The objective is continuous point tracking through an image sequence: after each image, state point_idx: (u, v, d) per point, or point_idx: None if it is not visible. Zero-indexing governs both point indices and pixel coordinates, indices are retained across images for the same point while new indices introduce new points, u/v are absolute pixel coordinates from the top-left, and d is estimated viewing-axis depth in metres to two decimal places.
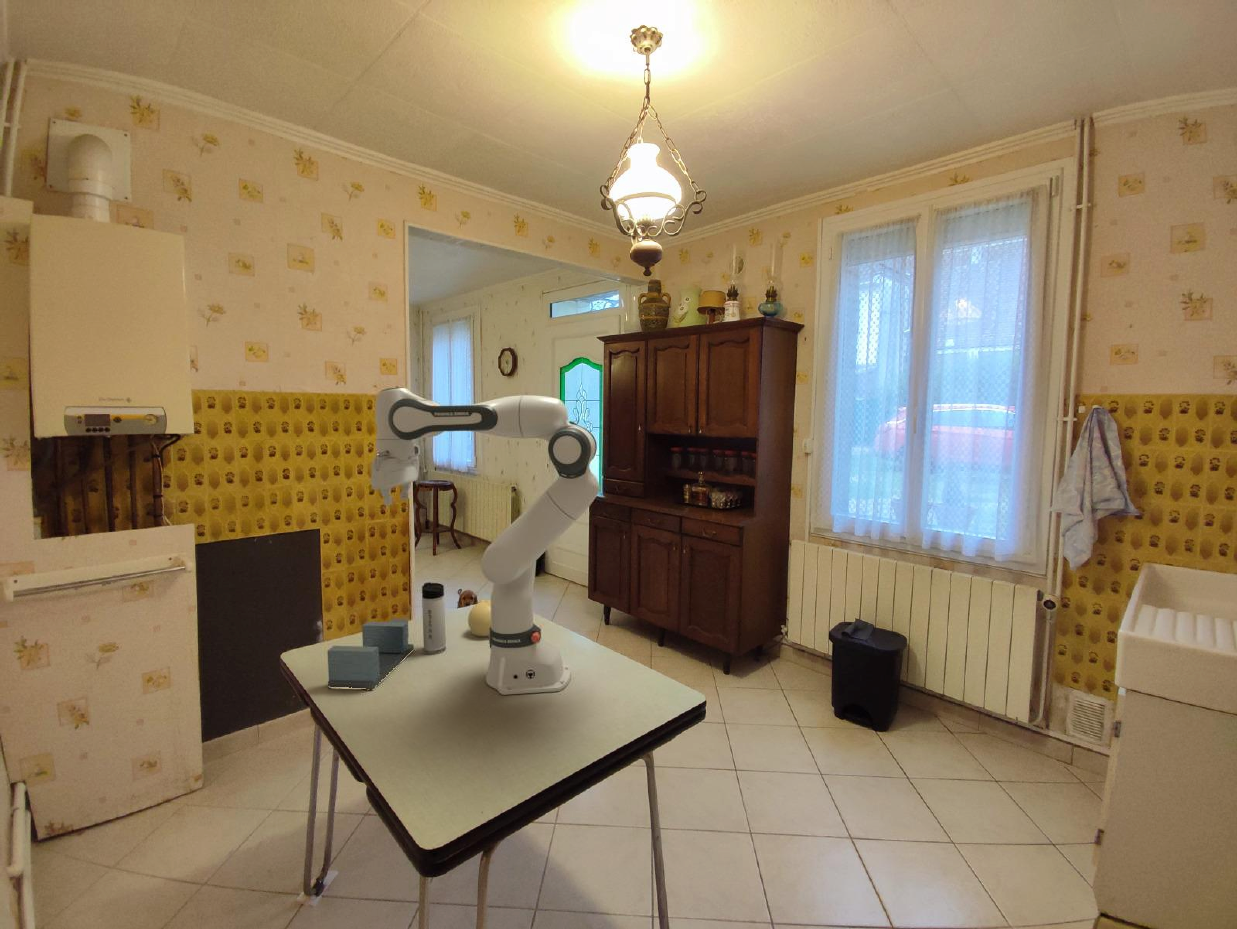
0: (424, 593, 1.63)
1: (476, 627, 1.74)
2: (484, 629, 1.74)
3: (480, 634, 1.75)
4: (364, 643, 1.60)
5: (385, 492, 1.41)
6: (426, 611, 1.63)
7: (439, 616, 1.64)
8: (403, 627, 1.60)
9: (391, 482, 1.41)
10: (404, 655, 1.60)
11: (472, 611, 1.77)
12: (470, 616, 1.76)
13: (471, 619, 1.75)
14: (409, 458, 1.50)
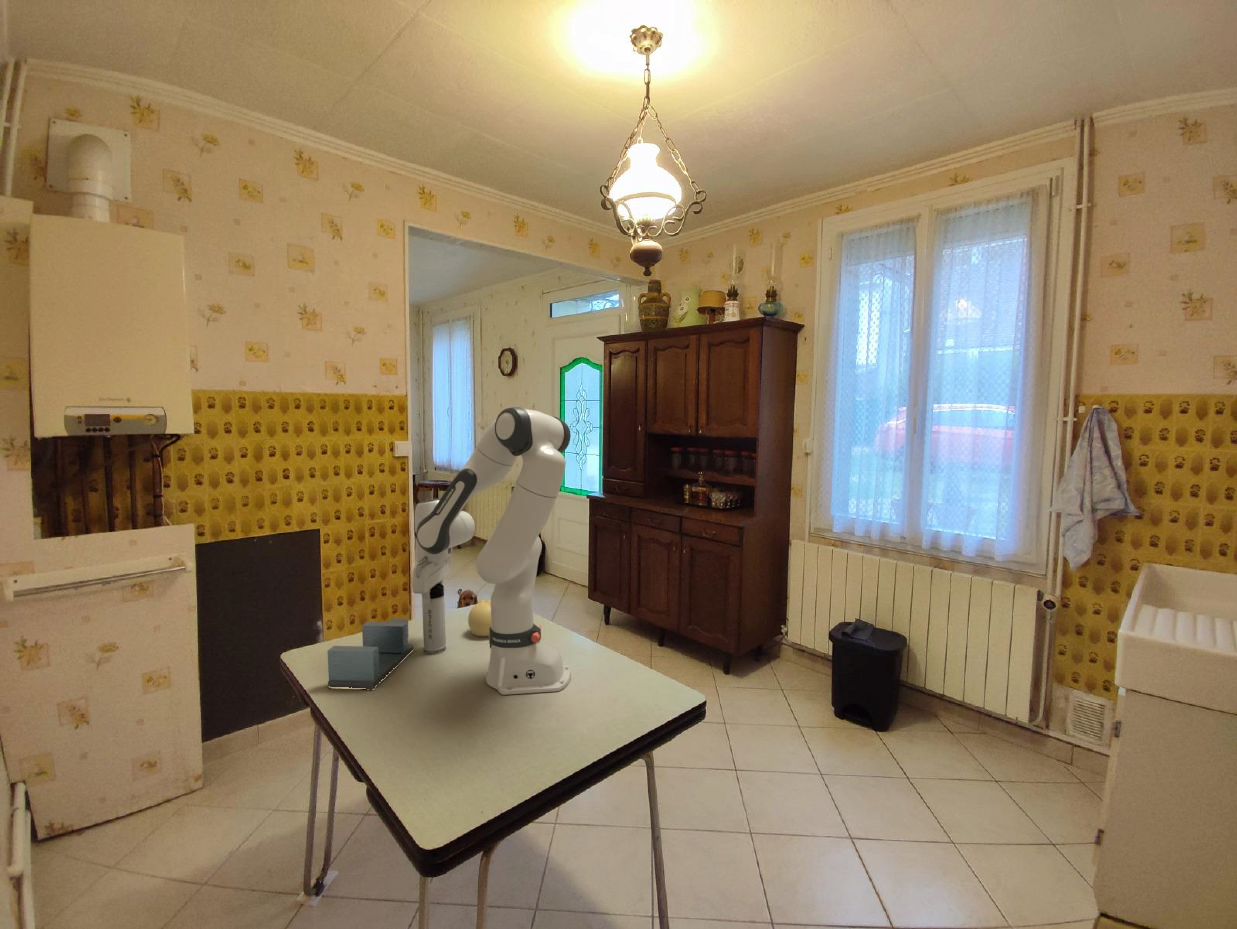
0: None
1: (476, 627, 1.74)
2: (484, 629, 1.74)
3: (480, 634, 1.75)
4: (364, 643, 1.60)
5: (425, 593, 1.60)
6: (426, 611, 1.63)
7: (440, 616, 1.64)
8: (403, 627, 1.60)
9: (429, 586, 1.59)
10: (404, 655, 1.60)
11: (472, 611, 1.77)
12: (470, 616, 1.76)
13: (471, 619, 1.75)
14: None
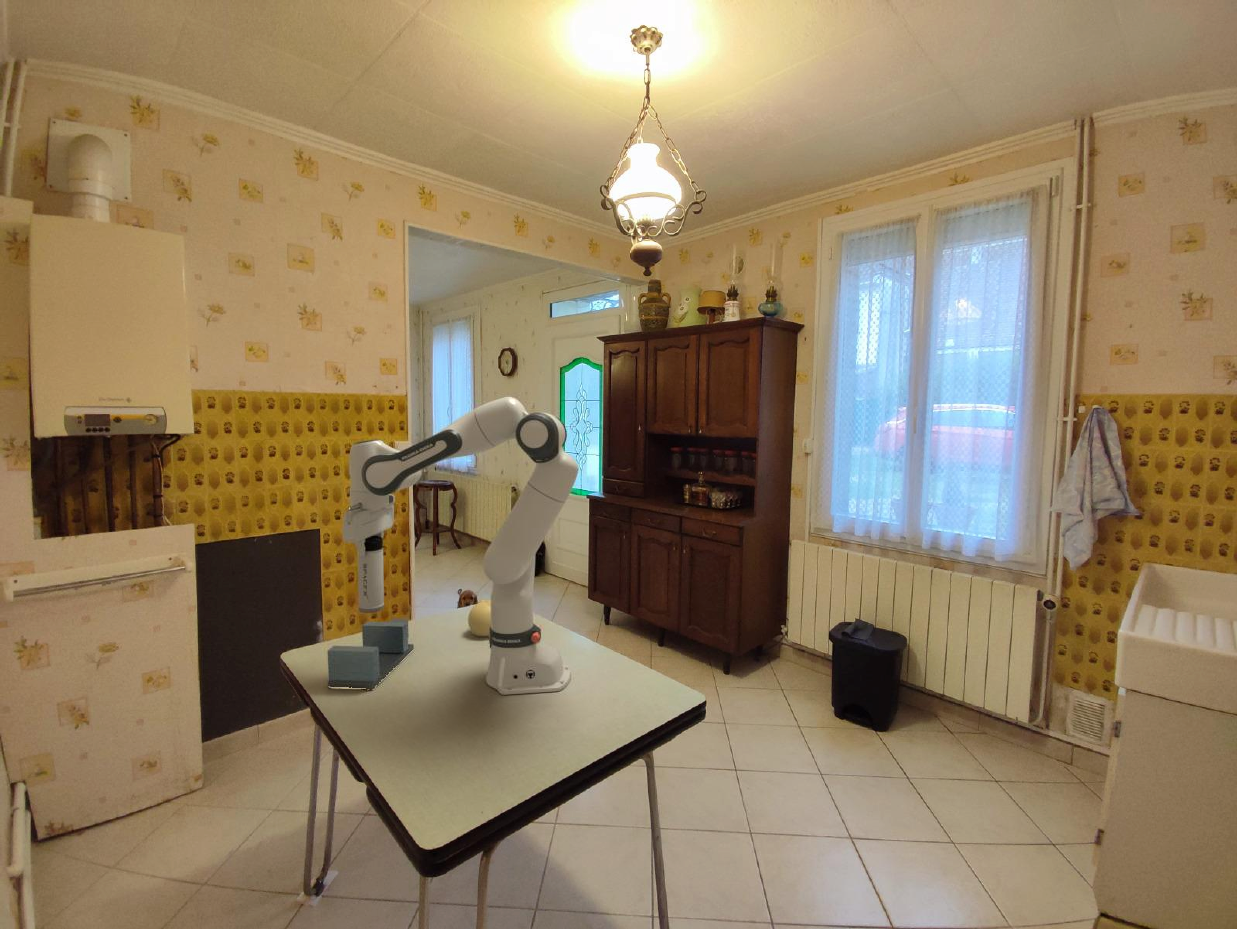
0: None
1: (476, 627, 1.74)
2: (484, 629, 1.74)
3: (480, 634, 1.75)
4: (364, 643, 1.60)
5: (359, 543, 1.44)
6: (361, 564, 1.47)
7: (376, 571, 1.48)
8: (403, 627, 1.60)
9: (363, 535, 1.43)
10: (404, 655, 1.60)
11: (472, 611, 1.77)
12: (470, 616, 1.76)
13: (471, 619, 1.75)
14: (383, 508, 1.52)
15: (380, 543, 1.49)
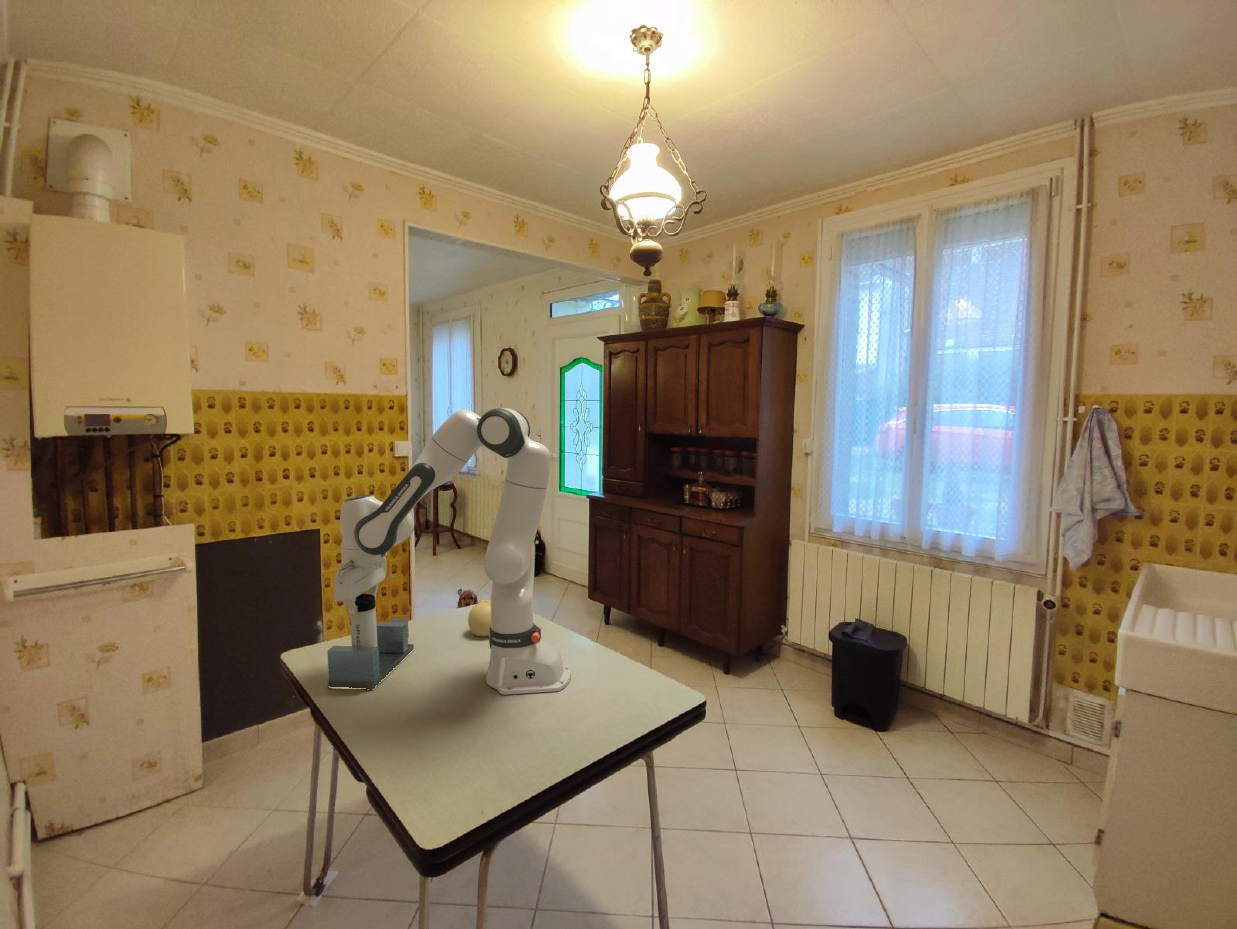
0: None
1: (476, 627, 1.74)
2: (484, 629, 1.74)
3: (480, 634, 1.75)
4: None
5: (349, 602, 1.42)
6: (354, 625, 1.46)
7: (369, 631, 1.47)
8: (403, 627, 1.60)
9: (355, 593, 1.42)
10: (404, 655, 1.60)
11: (472, 611, 1.77)
12: (470, 616, 1.76)
13: (471, 619, 1.75)
14: (375, 562, 1.51)
15: (372, 602, 1.48)
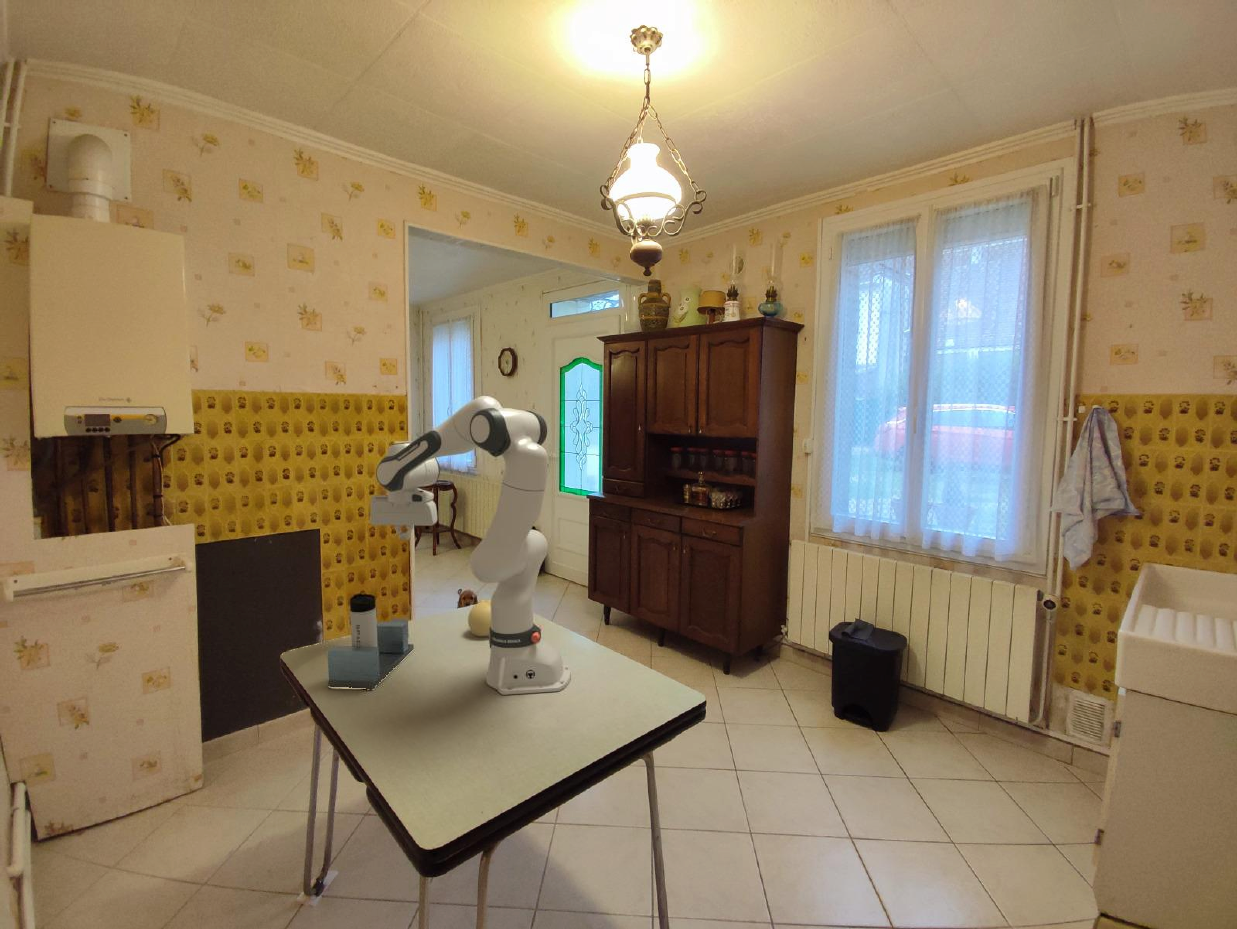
0: (352, 606, 1.46)
1: (476, 627, 1.74)
2: (484, 629, 1.74)
3: (480, 634, 1.75)
4: None
5: None
6: (354, 625, 1.46)
7: (370, 631, 1.47)
8: (403, 627, 1.60)
9: (380, 521, 1.71)
10: (404, 655, 1.60)
11: (472, 611, 1.77)
12: (470, 616, 1.76)
13: (471, 619, 1.75)
14: (409, 504, 1.70)
15: (373, 603, 1.48)
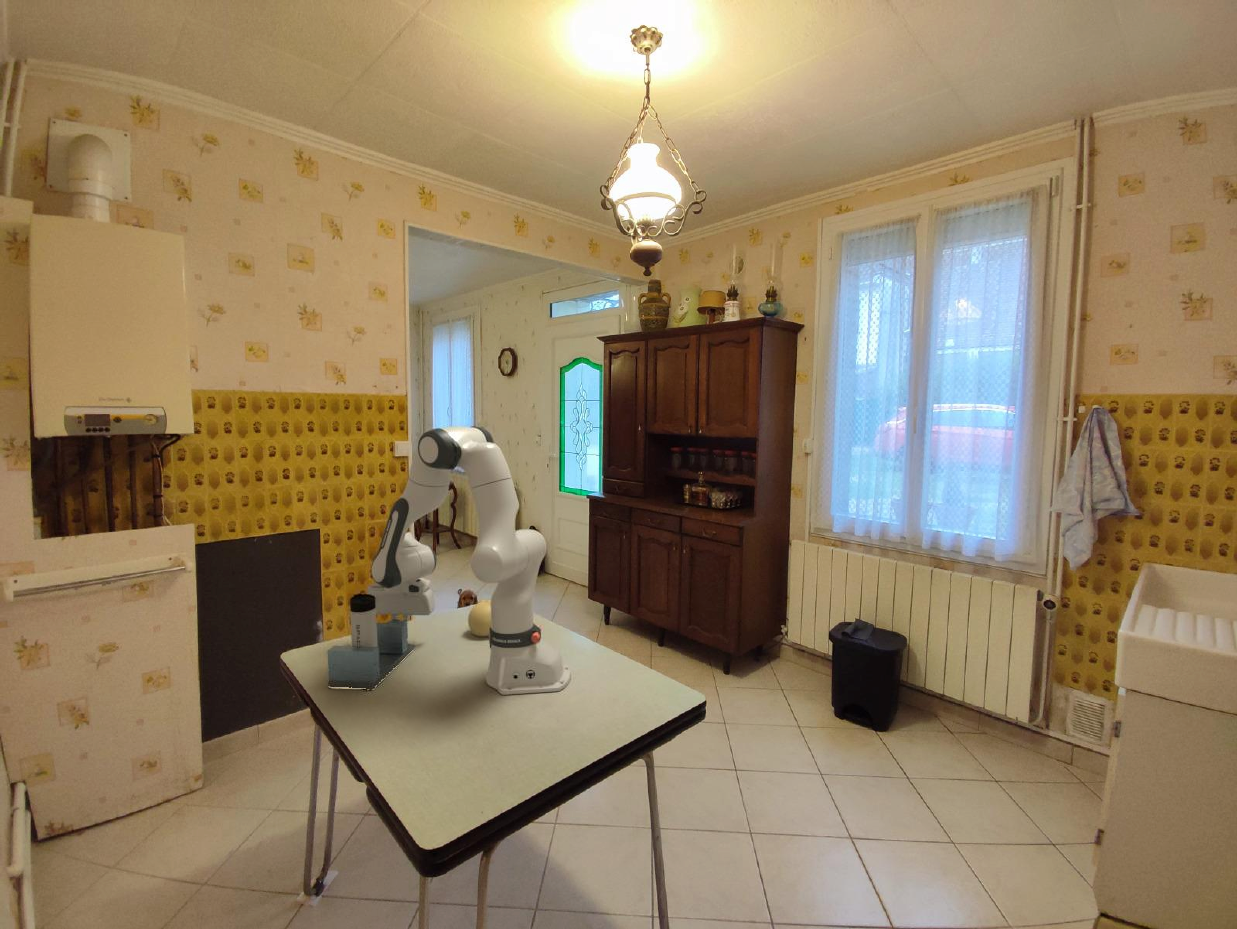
0: (352, 606, 1.46)
1: (476, 627, 1.74)
2: (484, 629, 1.74)
3: (480, 634, 1.75)
4: None
5: None
6: (354, 625, 1.46)
7: (370, 631, 1.47)
8: (402, 628, 1.59)
9: (377, 610, 1.69)
10: (404, 655, 1.60)
11: (472, 611, 1.77)
12: (470, 616, 1.76)
13: (471, 619, 1.75)
14: (406, 594, 1.68)
15: (373, 603, 1.48)
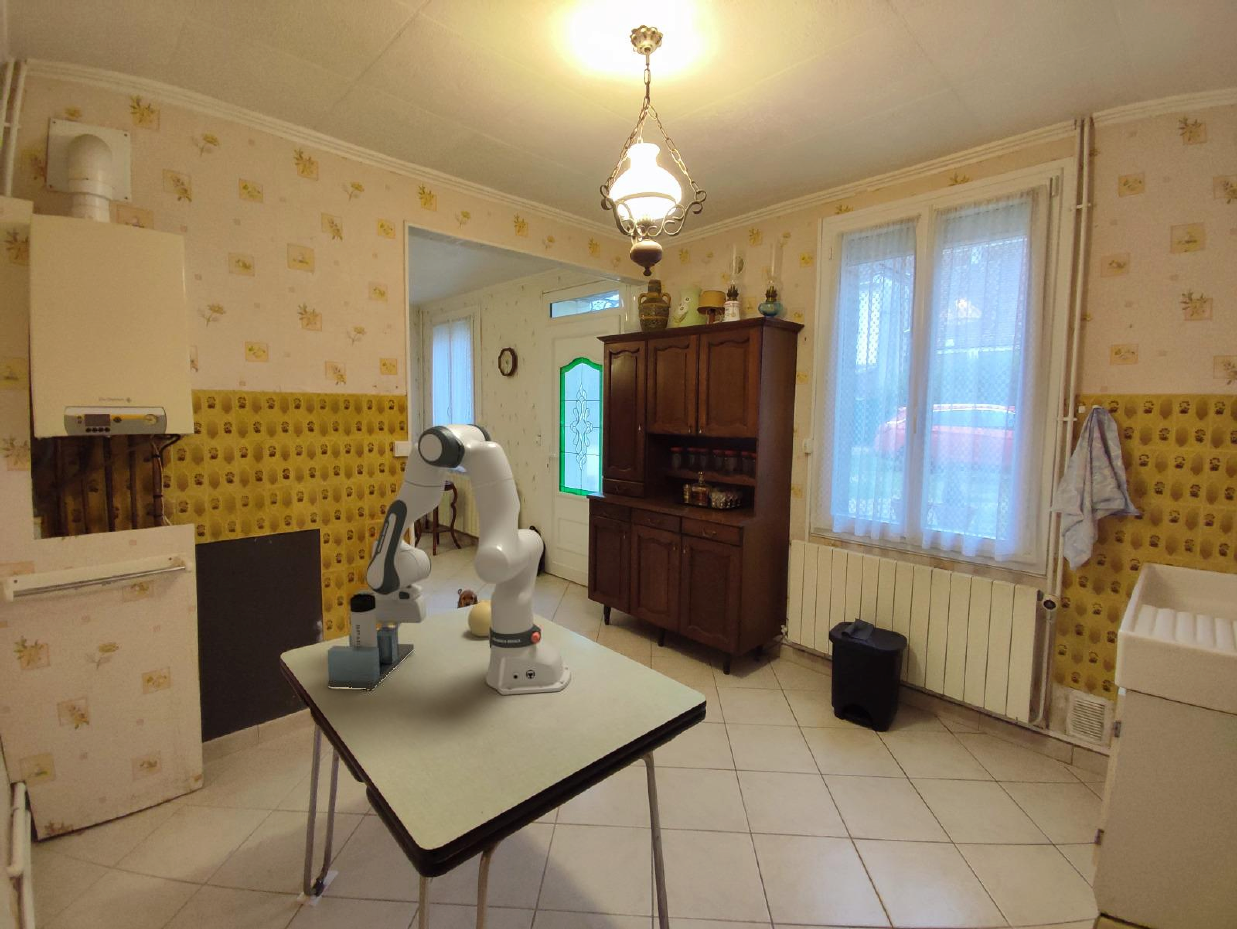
0: (352, 606, 1.46)
1: (476, 627, 1.74)
2: (484, 629, 1.74)
3: (480, 634, 1.75)
4: None
5: None
6: (354, 625, 1.46)
7: (370, 631, 1.47)
8: (392, 636, 1.53)
9: None
10: (404, 655, 1.60)
11: (472, 611, 1.77)
12: (470, 616, 1.76)
13: (471, 619, 1.75)
14: (397, 601, 1.61)
15: (373, 603, 1.48)
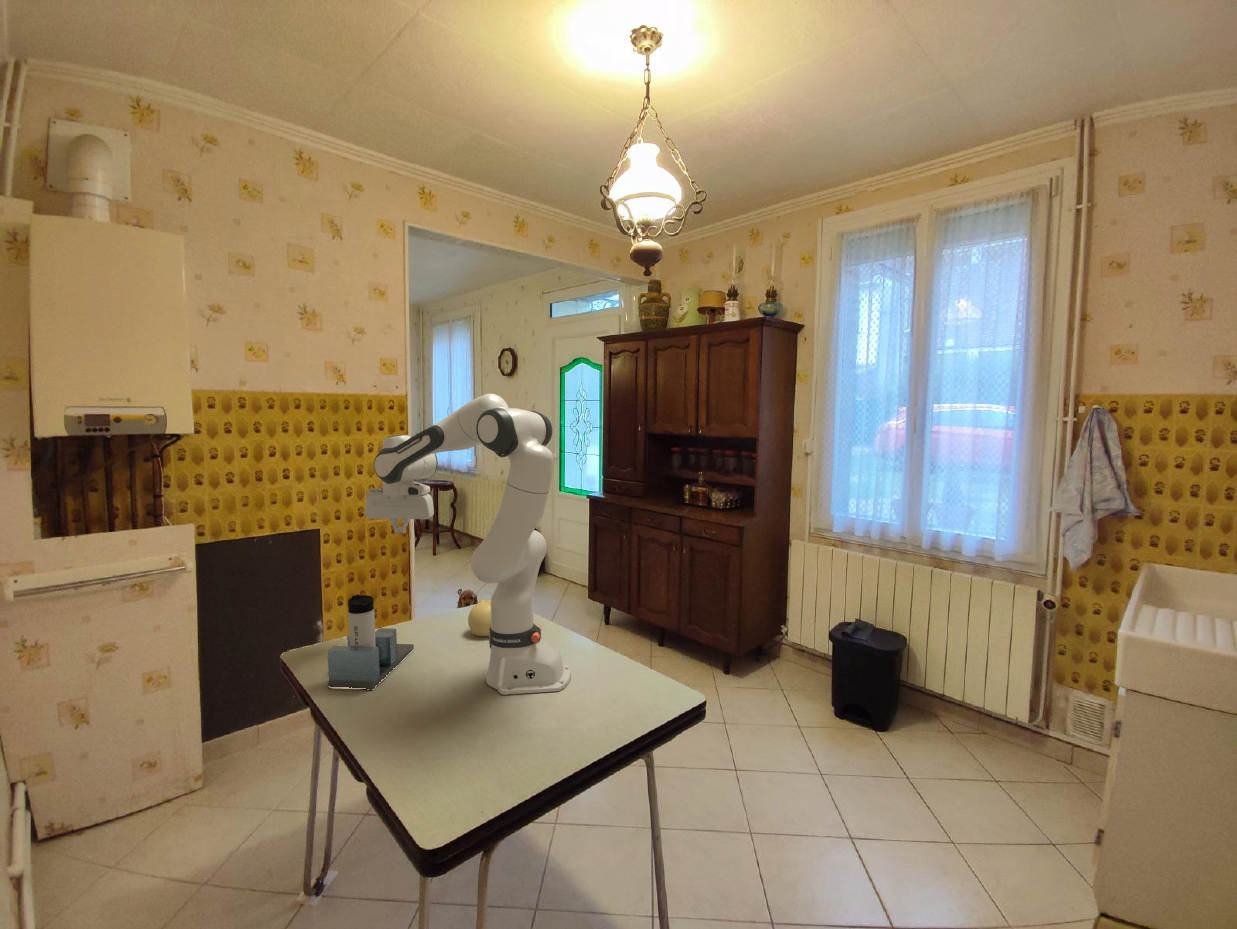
0: (350, 607, 1.45)
1: (476, 627, 1.74)
2: (484, 629, 1.74)
3: (480, 634, 1.75)
4: None
5: None
6: (352, 627, 1.45)
7: (368, 633, 1.46)
8: (390, 638, 1.52)
9: (376, 514, 1.69)
10: (404, 655, 1.60)
11: (472, 611, 1.77)
12: (470, 616, 1.76)
13: (471, 619, 1.75)
14: (405, 497, 1.67)
15: (371, 604, 1.47)
